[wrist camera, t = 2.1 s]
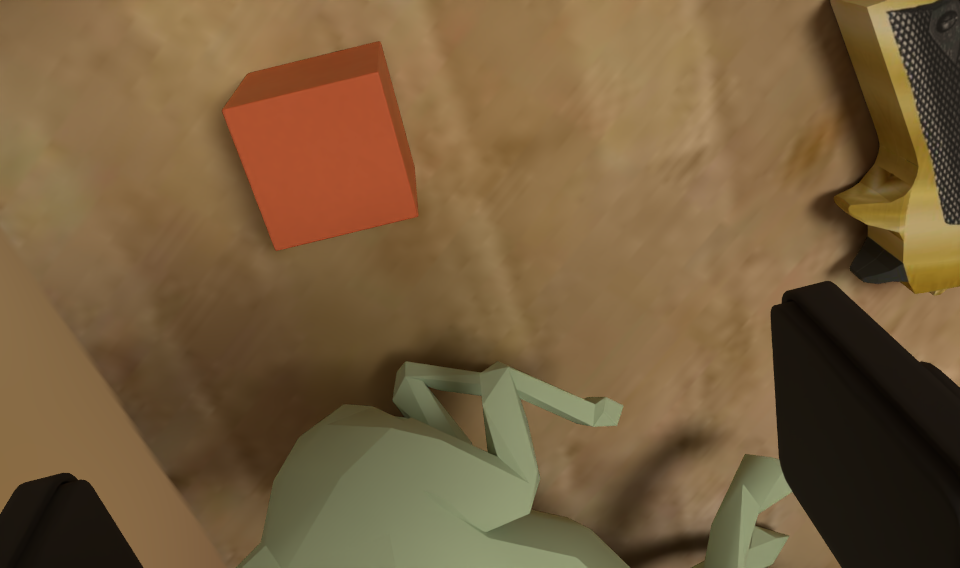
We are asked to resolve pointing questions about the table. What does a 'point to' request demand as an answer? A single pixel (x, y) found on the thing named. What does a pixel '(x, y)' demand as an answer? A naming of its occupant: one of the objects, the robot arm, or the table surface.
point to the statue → (464, 487)
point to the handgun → (908, 140)
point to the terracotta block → (324, 146)
